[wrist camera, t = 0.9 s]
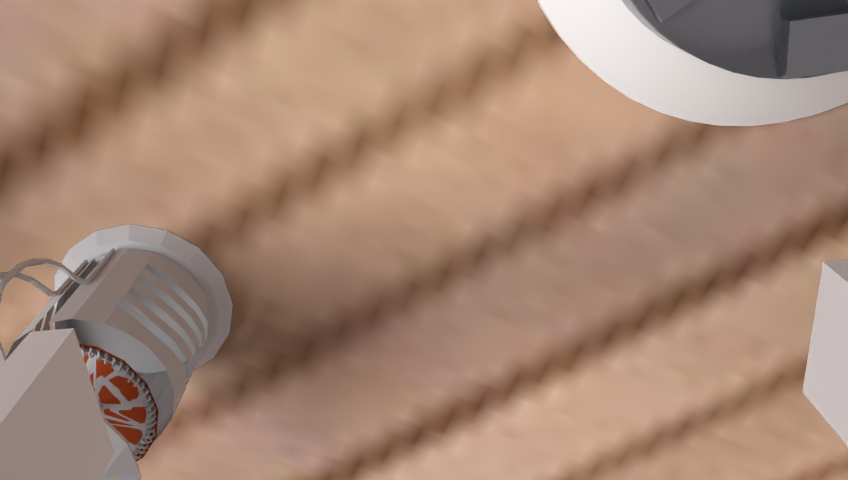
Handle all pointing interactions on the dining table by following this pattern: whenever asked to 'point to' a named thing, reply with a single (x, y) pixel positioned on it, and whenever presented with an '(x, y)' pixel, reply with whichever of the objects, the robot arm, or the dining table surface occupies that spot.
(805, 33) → the grey round piece
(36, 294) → the dining table surface
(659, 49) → the housing plate
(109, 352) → the french press
